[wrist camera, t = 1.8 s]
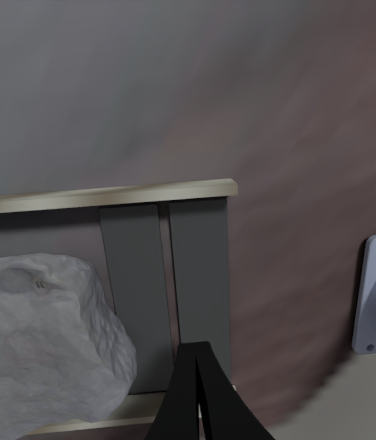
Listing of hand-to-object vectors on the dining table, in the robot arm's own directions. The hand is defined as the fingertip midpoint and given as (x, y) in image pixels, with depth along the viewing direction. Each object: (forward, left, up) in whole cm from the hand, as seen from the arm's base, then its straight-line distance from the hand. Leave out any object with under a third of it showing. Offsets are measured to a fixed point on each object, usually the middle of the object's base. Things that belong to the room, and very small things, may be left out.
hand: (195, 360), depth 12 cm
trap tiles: (+1, 0, -4) cm, 5 cm away
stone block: (+10, 0, -4) cm, 11 cm away
